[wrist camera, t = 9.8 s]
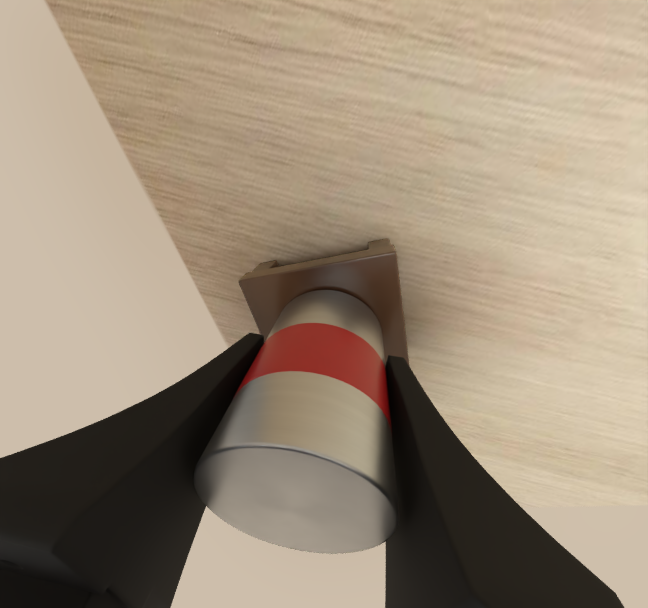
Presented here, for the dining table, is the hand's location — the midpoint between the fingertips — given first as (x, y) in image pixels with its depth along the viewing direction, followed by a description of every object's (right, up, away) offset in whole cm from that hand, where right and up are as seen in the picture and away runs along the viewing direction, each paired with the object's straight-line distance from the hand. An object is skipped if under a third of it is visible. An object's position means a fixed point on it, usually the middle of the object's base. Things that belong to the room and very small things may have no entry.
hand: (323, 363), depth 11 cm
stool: (+1, +2, +4) cm, 4 cm away
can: (0, +1, +2) cm, 2 cm away
